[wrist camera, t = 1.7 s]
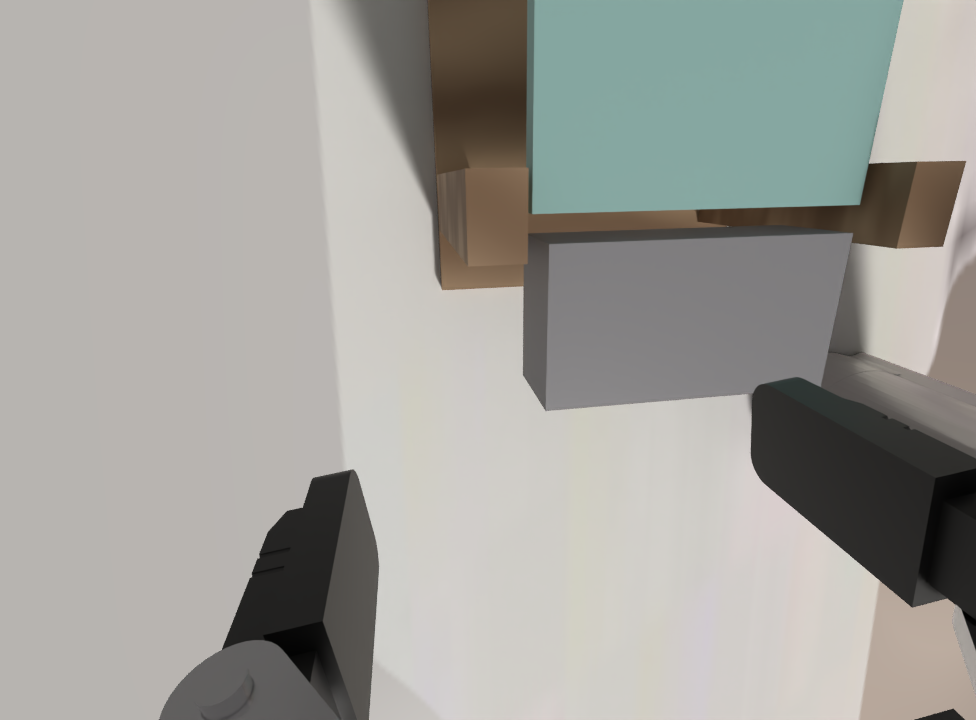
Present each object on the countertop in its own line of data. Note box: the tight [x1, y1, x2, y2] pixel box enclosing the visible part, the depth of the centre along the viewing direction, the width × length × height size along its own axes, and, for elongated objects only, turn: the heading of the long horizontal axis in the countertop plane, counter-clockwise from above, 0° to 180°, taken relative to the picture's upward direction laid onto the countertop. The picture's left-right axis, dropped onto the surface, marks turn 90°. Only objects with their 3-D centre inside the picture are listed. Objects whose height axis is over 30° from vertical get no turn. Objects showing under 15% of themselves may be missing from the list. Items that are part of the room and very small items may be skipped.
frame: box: [428, 0, 966, 290], centre depth 23 cm, size 19×18×14 cm
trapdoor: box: [523, 0, 903, 411], centre depth 19 cm, size 20×13×4 cm, turn 0°
